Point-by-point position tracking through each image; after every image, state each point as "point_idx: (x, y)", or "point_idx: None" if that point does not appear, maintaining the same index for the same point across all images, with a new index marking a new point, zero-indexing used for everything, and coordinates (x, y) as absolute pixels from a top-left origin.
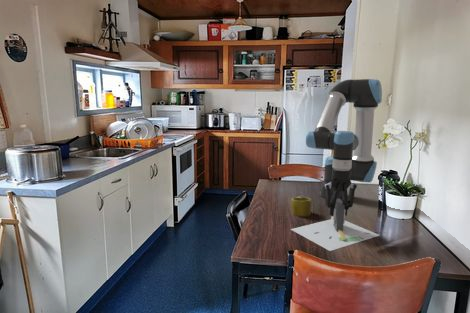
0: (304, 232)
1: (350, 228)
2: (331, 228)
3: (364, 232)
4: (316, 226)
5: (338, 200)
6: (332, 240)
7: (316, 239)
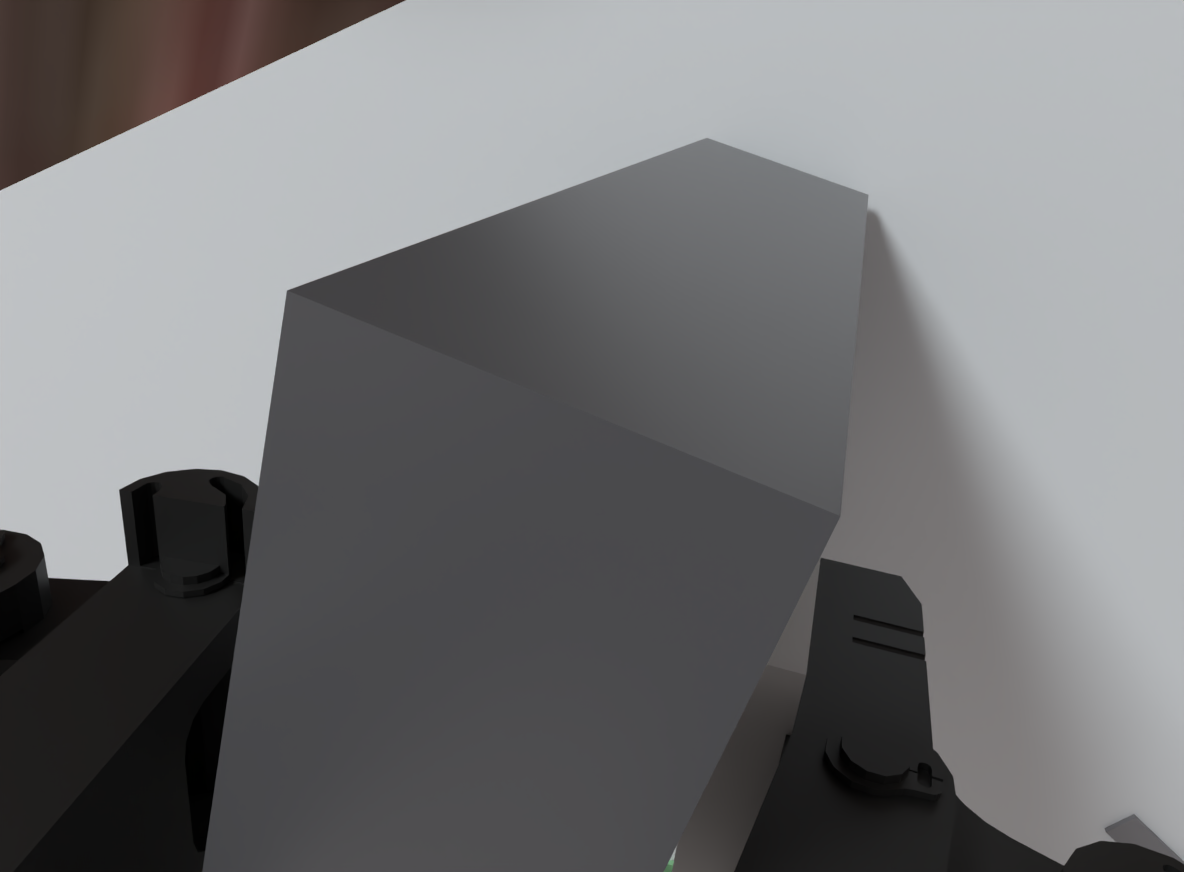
0: (17, 456)
1: (969, 556)
2: None
3: (1129, 823)
4: (264, 259)
5: (431, 818)
6: None
7: None
